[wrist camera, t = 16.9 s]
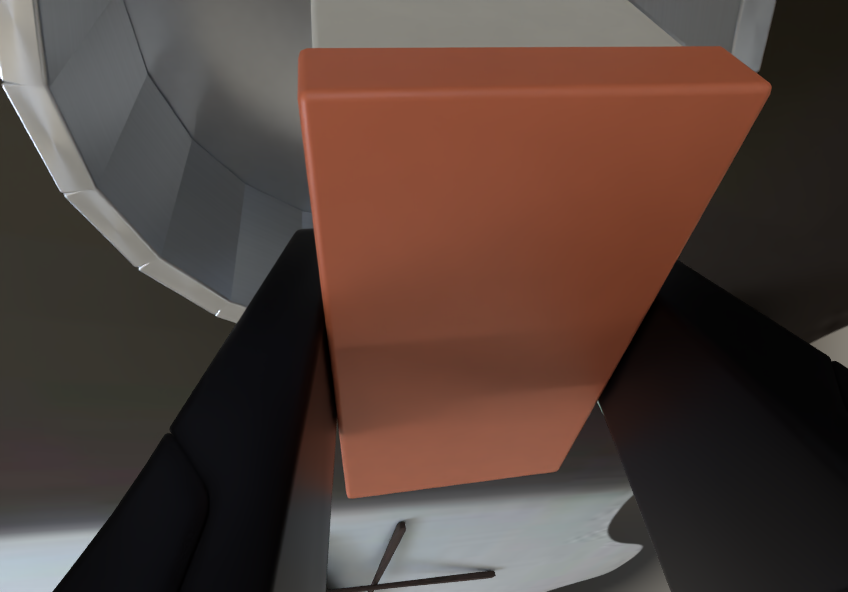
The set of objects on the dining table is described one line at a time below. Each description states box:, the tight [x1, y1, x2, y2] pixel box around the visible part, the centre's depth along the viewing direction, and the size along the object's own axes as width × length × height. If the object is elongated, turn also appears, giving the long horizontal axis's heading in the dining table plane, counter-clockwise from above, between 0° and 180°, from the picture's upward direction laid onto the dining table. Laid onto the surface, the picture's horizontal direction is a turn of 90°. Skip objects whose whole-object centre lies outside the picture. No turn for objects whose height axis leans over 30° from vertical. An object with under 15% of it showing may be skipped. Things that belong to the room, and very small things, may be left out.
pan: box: [0, 0, 777, 323], centre depth 12 cm, size 14×14×6 cm
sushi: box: [297, 0, 772, 498], centre depth 7 cm, size 7×4×3 cm, turn 177°
